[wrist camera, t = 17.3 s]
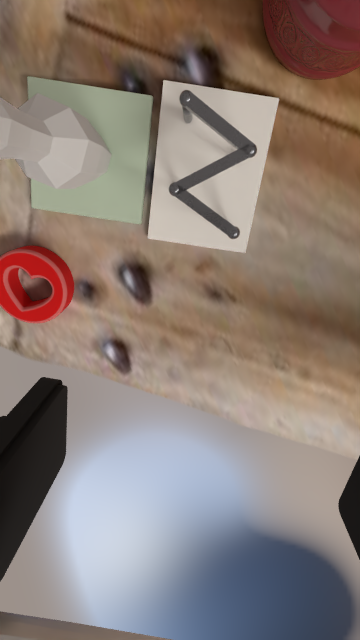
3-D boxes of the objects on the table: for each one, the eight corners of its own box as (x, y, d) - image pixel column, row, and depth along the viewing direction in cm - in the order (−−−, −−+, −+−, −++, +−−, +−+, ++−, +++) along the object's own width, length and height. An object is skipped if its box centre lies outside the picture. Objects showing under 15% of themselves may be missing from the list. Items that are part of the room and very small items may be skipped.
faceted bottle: (50, 159, 36) (-135, 121, 16) (82, 109, 34) (-82, -9, 14) (96, 199, 37) (-20, 212, 17) (130, 153, 35) (43, 105, 15)
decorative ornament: (9, 314, 45) (-3, 322, 42) (-4, 244, 41) (-19, 248, 38) (77, 316, 45) (69, 325, 42) (70, 246, 41) (61, 251, 38)
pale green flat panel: (153, 98, 34) (152, 95, 33) (141, 223, 39) (140, 224, 38) (31, 79, 34) (27, 76, 33) (35, 207, 39) (31, 207, 38)
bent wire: (250, 121, 34) (268, 100, 26) (229, 230, 38) (239, 240, 30) (183, 111, 34) (180, 86, 26) (169, 220, 38) (163, 229, 30)
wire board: (276, 100, 34) (279, 98, 33) (244, 251, 40) (245, 253, 39) (164, 82, 34) (163, 80, 33) (148, 237, 40) (147, 238, 39)
